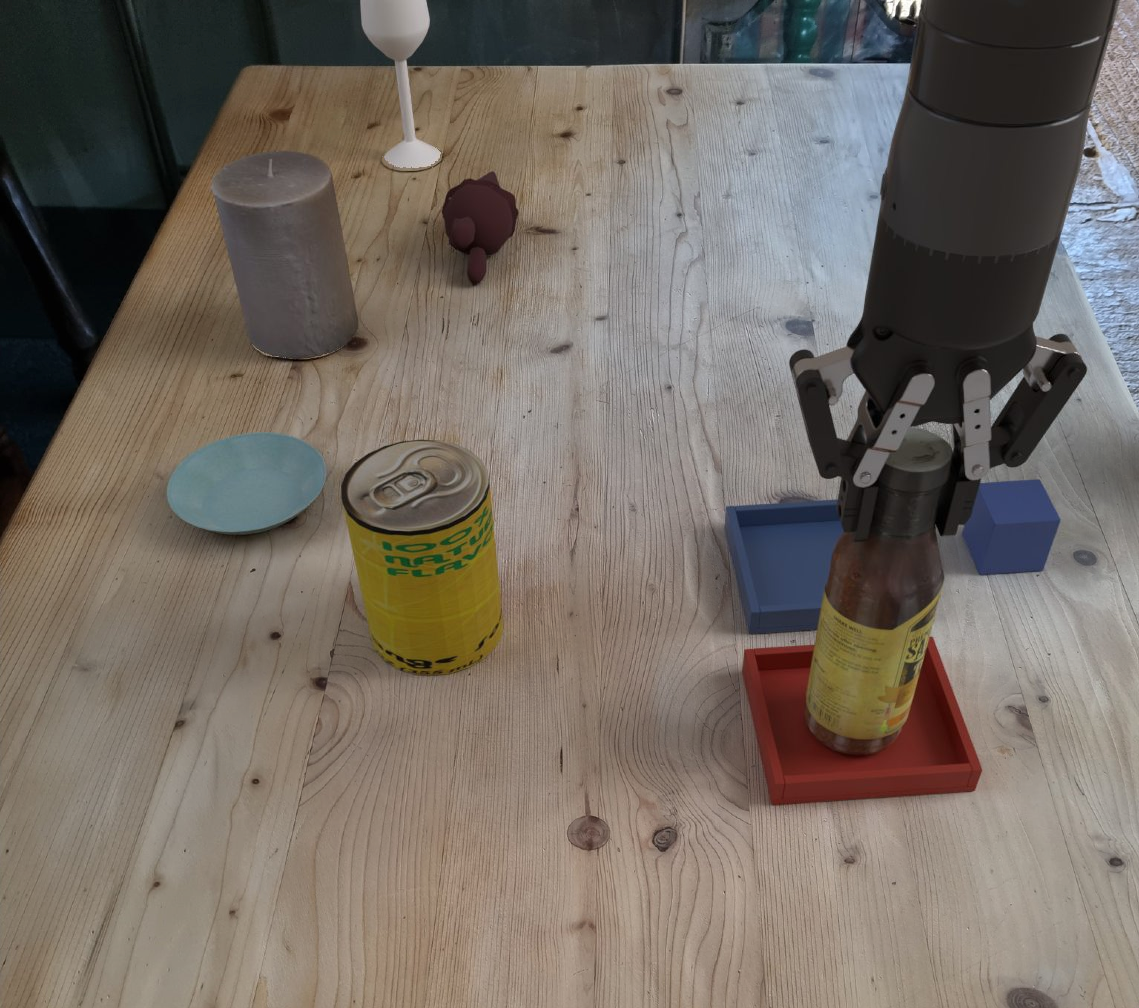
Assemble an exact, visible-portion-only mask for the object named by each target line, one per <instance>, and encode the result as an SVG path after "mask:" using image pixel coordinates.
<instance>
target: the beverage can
mask: <svg viewBox="0 0 1139 1008" xmlns="http://www.w3.org/2000/svg"><path fill="white" fill-rule="evenodd" d="M491 494H492V493H491V485H490V477H489V470H488V468H487V466H486V465H485V464H484V462H483V460H482V459H481V458H480V457H479V456H477V454H475V453H474V452H472V451H471V450H469V449H468V448H465V447H463V446H460V445H459V444H455V443H452V442H448V441H442V440H439V439H438V440H436V439H413V440H403V441H399V442H394V443H391V444H387V445H384V446H381V447H379V448H377V449H374V450H373V451H371V452H368V453H367V454H365V455H364V456H363V457H361V458H360V459H358V460H357V461H355V462H354V463H353V464H352V465H351V466H350V468H349V469H348V470H347V472H346V473H345V474H344V477H343V479H342V482H341V485H340V497H341V498H340V499H341V503H342V508H343V513H344V517H345V521H346V527H347V531H348V535H349V541H350V545H351V549H352V555H353V559H354V564H355V568H356V573H357V579H358V582H359V587H360V592H361V596H362V600H363V606H364V611H365V615H366V621H367V624H368V630H369V634H370V639H371V643H372V646H373V647H374V649H375V651H376V653H377V655H378V656H379V657H380V658H381V659H382V660H383V661H384V662H385V663H386V664H388V665H390V666H391V667H393V668H395V669H397V670H398V671H401V672H406V673H409V674H412V675H418V676H419V675H420V676H433V677H434V676H442V675H450V674H454V673H457V672H460V671H463V670H466V669H469V668H470V667H472V666H475V665H476V664H478V663H480V662H481V661H483V660H484V659H485V658H486V657H488V655H490V654H491V653H492V652H493V651H494V650H495V649H496V647H497V645H498V643H499V642H500V640H501V639H502V635H503V629H504V620H503V610H502V609H503V608H502V598H501V597H502V596H501V587H500V577H499V567H498V558H497V547H496V536H495V527H494V525H495V524H494V515H493V514H494V513H493V504H492V495H491Z"/></svg>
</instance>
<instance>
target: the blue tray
mask: <svg viewBox="0 0 1139 1008" xmlns="http://www.w3.org/2000/svg"><path fill="white" fill-rule="evenodd" d="M837 500H838V498H837V499H822V500H808V501H807V500H806V501H792V502H774V503H760V504H759V503H758V504H745V505H744V504H743V505H742V504H741V505H726V506H725V516H724V527H723V528H724V532H725V533H724V534H725V537H726V541H727V546H728V550H729V554H730V559H731V563H732V567H733V571H734V576H735V580H736V585H737V589H738V593H739V598H740V602H741V606H742V610H743V615H744V619H745V623H746V627H747V632H748V635H759V634H773V633H788V632H789V633H791V632H803V631H804V632H805V631H817V628H818V622H819V616H820V611H821V605H822V599H823V593H824V588H825V584H826V582H827V580H828V577H829V572H830V567H831V564H830V563H831V557H832V553H833V549H834V547H835V545H836V543H837V541H838V539H839V538H840V536H841V535H842V533H843V532H844V530H843V527H842V524H841V521H840V518H839V515H838V512H837V509H836V506H837Z"/></svg>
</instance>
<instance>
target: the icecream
mask: <svg viewBox="0 0 1139 1008" xmlns="http://www.w3.org/2000/svg"><path fill="white" fill-rule="evenodd" d="M441 209H442V210H441V215H442V218H443V221H444V232H445V235H446V236H447V238H448V245H449V246H450V247H452V249H454V250H455V251H458V252H459V253H461V254H464V255H467V256H468V258H467V266H466V267H467V269H466V274H467V278H468V281H469V283H470V284H471V285H473V286H475V285H480V284H481V283H482V282H483V280H484V278H485V277H486V274H487V269H488V266H487V265H488V264H487V261H488V260H487V257H488V256H493V255H495V254H497V253H498V252H499V251H500V250H501V248H502V247H503V246H505V244H506V242H507V241H508V240H509V239H510V238H511V237H513V236H514V233H515V232H516V225H517V220H518V217H519V214H520V213H519V209H518V208H517V199H516V196H515V195H514V194H513V193H512V192H511V191H508V190H506V189H504V188H502V187H501V186H500V182H499V179H498V177H497V173H496V172H495V171H489V172H487V173H486V174H484V175H483V176H482V177H480V178H478V179H474V178H471V177H469V178H464V179H463V181H461V182H460V184H457V185H456V186H453V187H452V188H450V189H448V191H447V193H446V195H445V199H444V203H443V206H442V208H441Z"/></svg>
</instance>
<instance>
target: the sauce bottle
mask: <svg viewBox="0 0 1139 1008" xmlns="http://www.w3.org/2000/svg"><path fill="white" fill-rule="evenodd" d="M952 458H953V447H952V445H951V444H950V443H949V442H948V441H947V440H946V439H944V438H943V437H942V436H940V435H938V434H937V433H934V432H932V431H930V430H927V429H924V428H921V427H916V426H914V427H909V429H908V431H907V433H906V435H905V437H904V439H903V441H902V443H901V445H900V447H899V448H898V450H897V451H896V452H891V453H890V455H889V457H888V459H887V461H886V463H885V464H884V466H883V468H882V470H881V472H880V474H879V476H878V478H877V480H876V482H877V484H878V492H877V497H876V502H875V507H874V512H873V517H872V522H871V527H870V531H869V536H868V540H867V541H860V542H853V541H852V539H851V536H850V533H849V532H845V533H844V532H843V533H842V535H841V536H840V538H839V539H838V541H837V543H836V545H835V547H834V549H833V553H832V557H831V563H830V564H831V567H830V572H829V577H828V580H827V582H826V584H825V588H824V593H823V599H822V605H821V611H820V616H819V622H818V628H817V630H816V633H815V639H814V640H815V641H814V644H813V645H814V651H813V657H812V663H811V669H810V675H809V681H808V686H807V691H806V709H805V718H806V723H807V726H808V727H809V729H810V731H811V732H812V733H813V734H814V736H815V737H816V739H817V740H818V741H819V742H821V743H822V744H823V745H824V746H827V747H829V748H830V749H831V750H833V751H837V752H841V753H844V754H852V755H871V754H875V753H877V752H880V751H882V750H884V749H886V748H888V747H889V746H890V745H891V744H892V743H893V742H894V741H895V739H896V738H897V737H898V735H899V733H900V732H901V731H902V726H903V724H904V723H905V722H906V720H907V718H908V714H909V711H910V707H911V703H912V700H913V696H914V692H915V689H916V685H917V681H918V677H919V673H920V670H921V666H922V663H923V660H924V655H925V652H926V648H927V645H928V641H929V638H930V637H931V633H932V629H933V624H934V623H935V617H936V613H937V609H938V605H939V602H940V599H941V594H942V591H943V587H944V582H945V573H944V568H943V563H942V558H941V557H942V556H941V552H940V546H939V540H938V539H939V538H938V534H937V527H936V525H935V521H936V511H937V507H938V503H939V498H940V496H941V492H942V486H943V485H944V483H945V482H946V481H947V480H948V477H949V474H950V468H951V463H952Z"/></svg>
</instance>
